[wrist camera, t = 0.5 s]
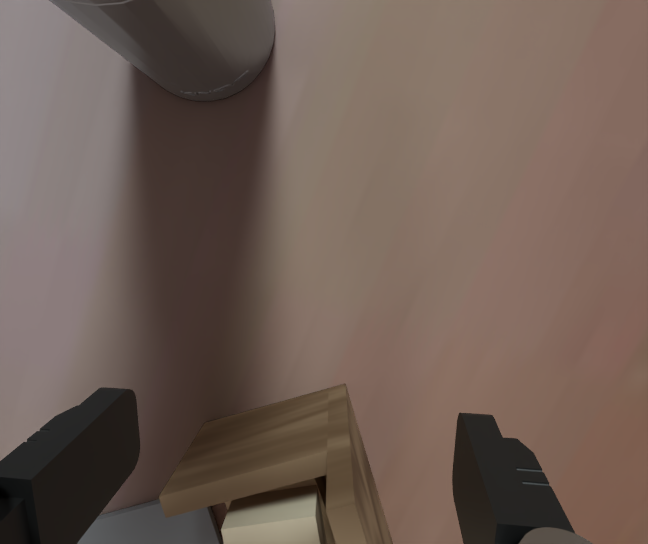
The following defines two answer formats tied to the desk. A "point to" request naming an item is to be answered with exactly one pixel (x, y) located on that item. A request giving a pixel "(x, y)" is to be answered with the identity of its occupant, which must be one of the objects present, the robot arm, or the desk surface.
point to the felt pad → (153, 527)
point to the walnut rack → (284, 462)
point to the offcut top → (276, 518)
